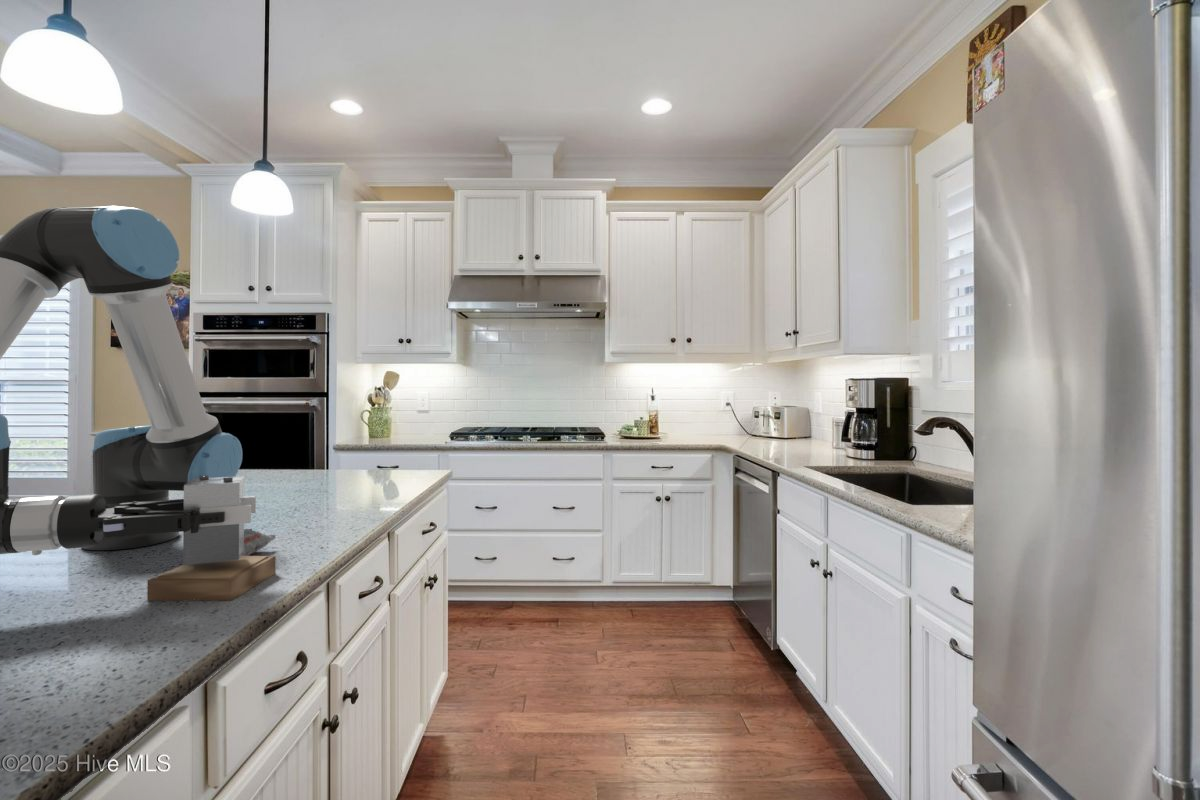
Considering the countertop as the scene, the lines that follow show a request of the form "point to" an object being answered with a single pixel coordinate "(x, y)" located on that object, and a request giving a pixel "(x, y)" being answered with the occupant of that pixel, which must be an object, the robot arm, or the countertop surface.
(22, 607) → the countertop surface
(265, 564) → the stand
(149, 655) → the countertop surface
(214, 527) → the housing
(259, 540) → the packaged food
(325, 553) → the countertop surface
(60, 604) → the countertop surface
